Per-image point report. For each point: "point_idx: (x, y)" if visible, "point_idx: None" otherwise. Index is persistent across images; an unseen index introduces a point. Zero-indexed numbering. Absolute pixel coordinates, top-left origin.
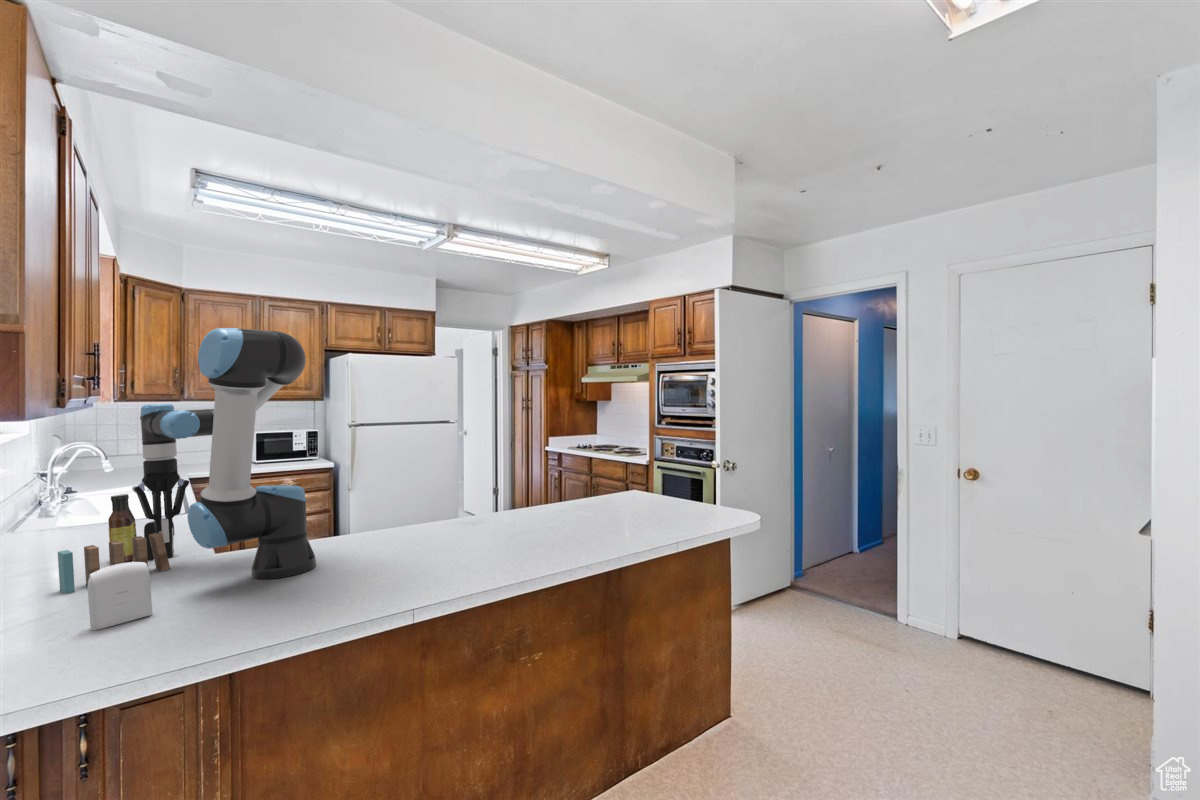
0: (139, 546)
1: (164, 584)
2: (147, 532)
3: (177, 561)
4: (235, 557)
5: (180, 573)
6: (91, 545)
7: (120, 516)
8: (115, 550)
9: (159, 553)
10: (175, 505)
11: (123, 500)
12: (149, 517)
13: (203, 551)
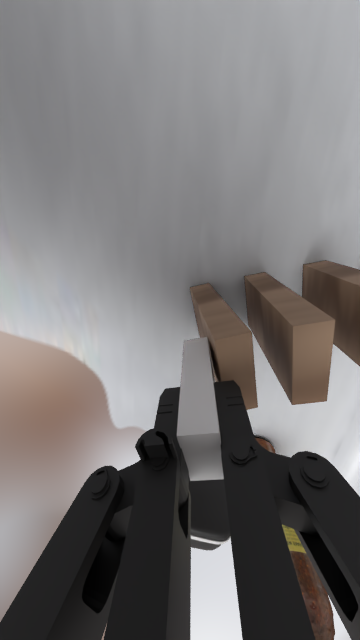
0: (309, 306)
1: (236, 40)
2: (225, 495)
3: (166, 361)
4: (28, 275)
5: (171, 199)
6: None
7: (309, 616)
8: None
9: (220, 301)
10: (92, 607)
11: None
12: (327, 472)
13: (112, 405)
